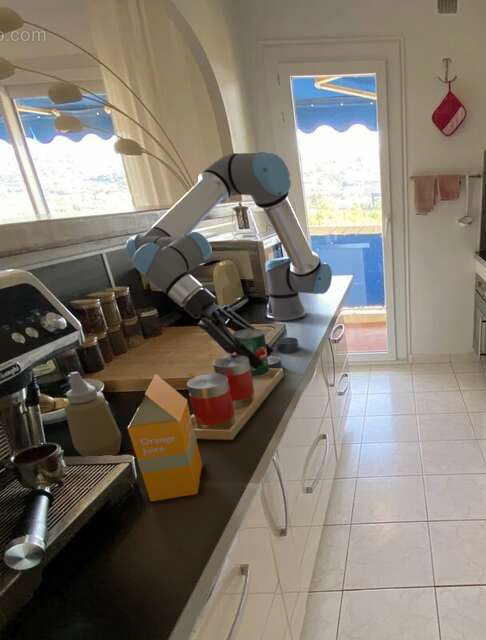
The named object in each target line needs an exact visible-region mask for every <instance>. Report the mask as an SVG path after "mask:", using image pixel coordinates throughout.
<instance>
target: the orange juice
mask: <svg viewBox="0 0 486 640" xmlns="http://www.w3.org/2000/svg"><path fill="white" fill-rule="evenodd" d="M190 412H191V411H190V408H189V404H188V399H187V398H186V397H184V396H183V395H182V394H181V393H180V392H178V391H177V390H176V389H175V388H174V387H173V386H171V385H170V384H169V383H168V382H167V381H165V380H164V379H163V378H162V377H160V376H159V375H158V373H155V374H154V376H153V378H152V380H151V382H150V384H149V385H148V387H147V389H146V391H145V393H144V397H143V399H142V401H141V403H140V404H139V406H138V408H137V409H136V412H135V413H134V415H133V417H132V418H131V421H130V422H129V425H128V426H127V432H128V434H129V438H130V441H131V443H132V448H133V449H134V454H135V457H136V459H137V464H138V467H139V470H140V473H141V475H142V479H143V481H144V485H145V488H146V491H147V495H148V498H149V501H150V502H156V501H163V500H168V499H169V500H170V499H175V498H180V497H186V496H193V495H197V494H198V493H199V488H200V483H201V480H200V478H201V474H202V470H203V469H202V468H203V463H202V458H201V454H200V449H199V446H198V441H197V438H196V436H195V432H194V428H193V424H192V420H191V416H192V415H191V413H190Z"/></svg>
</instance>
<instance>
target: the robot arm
mask: <svg viewBox="0 0 486 640" xmlns="http://www.w3.org/2000/svg"><path fill="white" fill-rule="evenodd" d="M290 178H291V174H290V171H289V168H288V166H287V163H286V162H285V161H284V160H283V158H282V157H281V156H280V155H278V154H276V153H273V152H266V151H259V152H243V153H242V152H240V153H237V152H236V153H235V152H234V153H229V154H226V155H224V156H222V157H220V158H218V159H217V160H215V161H214V162H213V163H211V164H210V165H209V166H207V168H205V169H204V170H203V171H202V172H200V174H199V176H198V182H197V183H196V184H195V185H193V187H191V189H189V191H187V192H186V193H185V194H184V195H183V196H182V197H181V198H180V199H179V200H178V201H177V202H176V203H175V204H174V205H173V206H172V207H171V208H170V209H169V210H168V211H167V212H165V214H164V215H162V217H161V218H159V220H157V221H156V222H155V224H153V225H152V226H151V227H150V228H149V229H148V230H147V231H146V232H145V233H144V234H136V235H131V236H130V237H129V238H128V239H127V241H126V245H125V248H126V253H127V255H128V256H129V259H131V263H132V265H133V267H134V268H135V269H136V270H137V271H138V272H139V273H140V274H141V275H142V276H143V277H144V278H146V279H147V280H149V281H150V282H151V283H152V284H153V285H155V287H157V288H158V289H159V290H160V291H162V292H163V293H164V294H165V295H167V296H168V297H169V298H170V299H172V300H173V302H174V303H176V304H177V305H178V306H180V308H181V307H182V308H183V310H184V311H185V312H186V313H188V315H190V316H191V317H192V318H193V319H195V320H196V319H199V318H200V321H199V322H198V323H197V326H198V327H199V328H200V329H202V330H203V331H205V332H206V333H207V335H209V337H211V338H212V340H214V342H216V344H217V345H219V346H220V347H221V348H222V349H223V350H224V352H225V353H227V354H229V355H234V354H236V353H237V354H238V355H244V356H247V357H248V358H249V364H250V365H251V366H252V367H253V368H254V369H256V368H257V367H258V366H259V365H260V364H261V363H262V362H263V361H261V360H260V359H259V358H258V357H257V356H256V355H255V354H253V353H252V352H251V351H250V350H249V349H248V348H246V347H245V346H244V345H243V344H242V345H241V346H240V344H239V343H238V342H237V340H236V339H235V338H234V336H233V335H232V334H233V333H232V332H231V331H230V330H232V331H233V332H236V331H239V330H244V329H256V327H255V326H254V325H252V324H251V323H250V322H248V321H247V320H246V319H244V318H242V316H240V314H238V313H236V312H235V311H234V310H232V308H231V307H230V306H229V305H227V304H225V305H224V306H223V307H221V306H220V305H218V304H217V303H216V300H217V298H216V296H215V295H214V294H213V293H212V292H210V291H209V290H208V289H207V288H203V284H201V283H200V282H199V281H198V280H197V279H196V278H195V277H193V275H191V274H190V273H189V272H190V271H192V270H194V269H195V268H196V267H198V266H199V265H202V264H204V263H205V261H207V260H208V259H209V258H210V257H211V255H212V253H213V252H212V246H211V243H210V242H209V240H208V239H207V238H206V237H205V236H204V235H203V234H202V233H200V232H197V231H195V229H196V228H197V227H198V226H199V225H200V223H202V222H203V220H205V218H206V217H207V216H208V215H209V214H210V213H211V212H212V211H213V210H214V209H215V208H216V207H217V206H218V205H219V204H220V203H221V204H223V203H225V202H227V201H228V199H230V198H232V197H235V196H251V198H252V200H253V202H254V204H255V205H256V207H258V208H261V209H263V211H264V213H265V215H266V217H267V218H268V221H269V222H270V224H271V226H272V228H273V230H274V232H275V234H276V236H277V238H278V239H279V241H280V244H281V245H282V247H283V249H284V251H285V253H286V255H287V256H283V257H276V258H272V259H268V260H266V261H265V263H264V268H265V276H266V284H267V291H268V298H269V299H268V303H267V304H266V308H267V309H266V317H267V319H268V320H271V321H275V322H280V321H281V322H286V321H287V322H289V321H295V320H300V319H302V318H304V317H305V316H306V311H305V308H304V305H303V302H302V301H301V298H300V294H299V293H301V294H302V293H303V294H309V295H311V294H312V295H324V294H325V293H327V292H328V291H329V289H330V288H331V284H332V279H333V278H332V277H333V272H332V268H331V265H330V263H326V262H322V261H321V259H320V256H319V255H318V253H316V252H314V251H312V249H311V246H310V244H309V242H308V239H307V238H306V235H305V234H304V231H303V229H302V227H301V225H300V222H299V220H298V218H297V215H296V214H295V211H294V210H293V207H292V205H291V203H290V200H289V199H288V197H289V195H290V189H291V185H292V184H291V183H292V182H291V181H292V180H291V179H290ZM229 329H230V330H229ZM265 344H266V350H267V357H268V356H271V354H272V353H273V352H274V351H275V350H274V349H273V348H272V347H271V346H269V345H268V344H267V342H265Z"/></svg>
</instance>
